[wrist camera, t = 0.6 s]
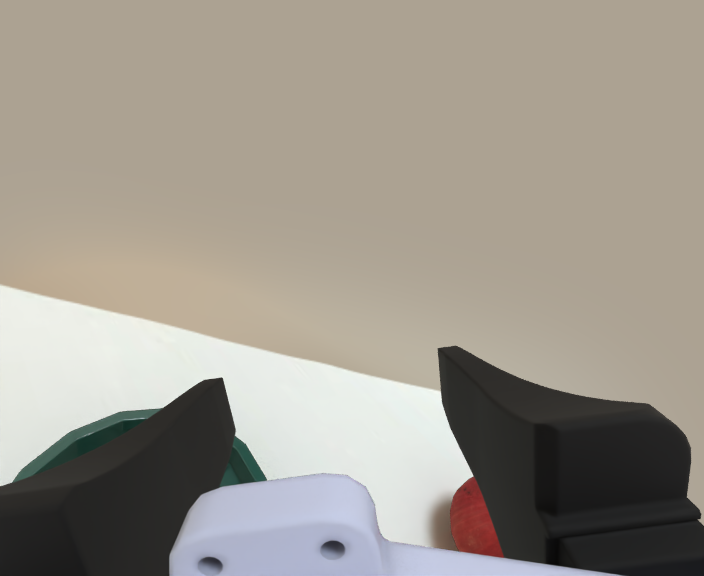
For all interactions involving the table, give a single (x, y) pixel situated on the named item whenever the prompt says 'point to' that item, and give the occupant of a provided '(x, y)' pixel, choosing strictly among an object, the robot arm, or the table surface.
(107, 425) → the green faceted bowl
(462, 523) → the onion
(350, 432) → the table surface
